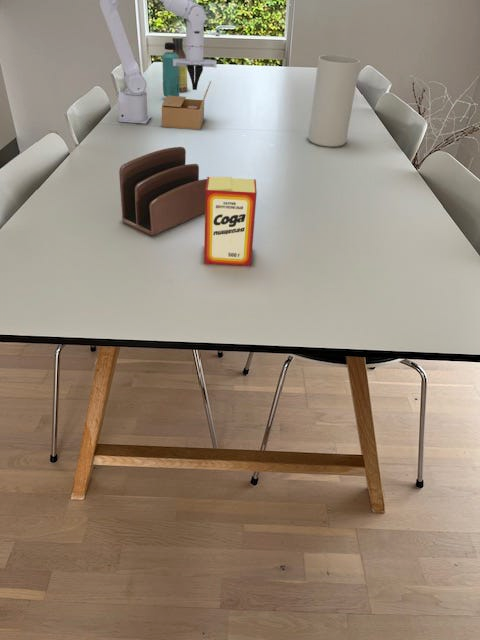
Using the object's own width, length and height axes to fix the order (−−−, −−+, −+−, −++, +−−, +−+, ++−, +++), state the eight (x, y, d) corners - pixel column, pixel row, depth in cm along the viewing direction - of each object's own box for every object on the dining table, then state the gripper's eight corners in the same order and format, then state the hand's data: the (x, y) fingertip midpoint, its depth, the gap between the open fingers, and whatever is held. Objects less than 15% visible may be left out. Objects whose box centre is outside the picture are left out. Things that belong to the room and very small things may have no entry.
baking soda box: (250, 250, 114) (256, 177, 105) (250, 265, 109) (256, 190, 99) (205, 248, 114) (207, 174, 104) (204, 263, 108) (205, 187, 99)
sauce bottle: (188, 89, 225) (188, 36, 213) (185, 93, 220) (185, 38, 208) (173, 88, 225) (172, 35, 214) (170, 91, 220) (169, 37, 209)
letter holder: (121, 222, 121) (116, 161, 113) (183, 198, 134) (183, 141, 126) (152, 237, 116) (149, 174, 108) (213, 210, 129) (214, 152, 121)
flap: (204, 98, 187) (204, 98, 187) (199, 107, 177) (200, 108, 177) (210, 80, 183) (211, 81, 184) (206, 89, 173) (207, 89, 173)
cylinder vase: (344, 149, 172) (359, 64, 158) (306, 144, 174) (317, 60, 159) (346, 138, 182) (360, 57, 168) (309, 133, 184) (320, 53, 169)
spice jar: (185, 123, 184) (185, 108, 181) (187, 120, 187) (187, 105, 184) (197, 124, 184) (197, 109, 181) (198, 121, 187) (199, 106, 184)
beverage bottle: (178, 102, 208) (178, 44, 196) (161, 100, 208) (160, 43, 196) (180, 97, 213) (180, 41, 201) (164, 96, 213) (162, 40, 201)
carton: (204, 119, 191) (204, 98, 187) (199, 129, 181) (200, 107, 177) (168, 116, 191) (167, 95, 187) (162, 126, 181) (161, 104, 177)
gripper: (173, 46, 173) (173, 91, 181) (217, 48, 175) (216, 92, 183) (172, 42, 178) (173, 86, 186) (216, 44, 180) (214, 87, 188)
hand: (194, 89), depth 185 cm, fingers closed
